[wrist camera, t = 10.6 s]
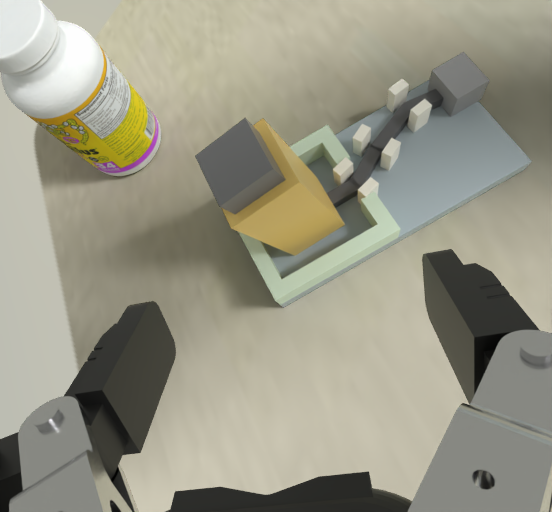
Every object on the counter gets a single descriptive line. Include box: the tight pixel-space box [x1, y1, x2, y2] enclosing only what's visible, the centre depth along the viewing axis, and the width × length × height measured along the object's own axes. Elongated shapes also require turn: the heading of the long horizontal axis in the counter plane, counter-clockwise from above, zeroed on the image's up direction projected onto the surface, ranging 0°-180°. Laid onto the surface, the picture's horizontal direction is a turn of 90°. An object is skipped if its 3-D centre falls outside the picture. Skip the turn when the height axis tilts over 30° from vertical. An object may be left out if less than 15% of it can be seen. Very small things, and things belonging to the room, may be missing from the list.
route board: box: [239, 52, 531, 308], centre depth 28 cm, size 19×9×3 cm, turn 118°
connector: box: [195, 118, 345, 256], centre depth 23 cm, size 4×4×10 cm
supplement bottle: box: [0, 0, 161, 176], centre depth 29 cm, size 7×7×13 cm
